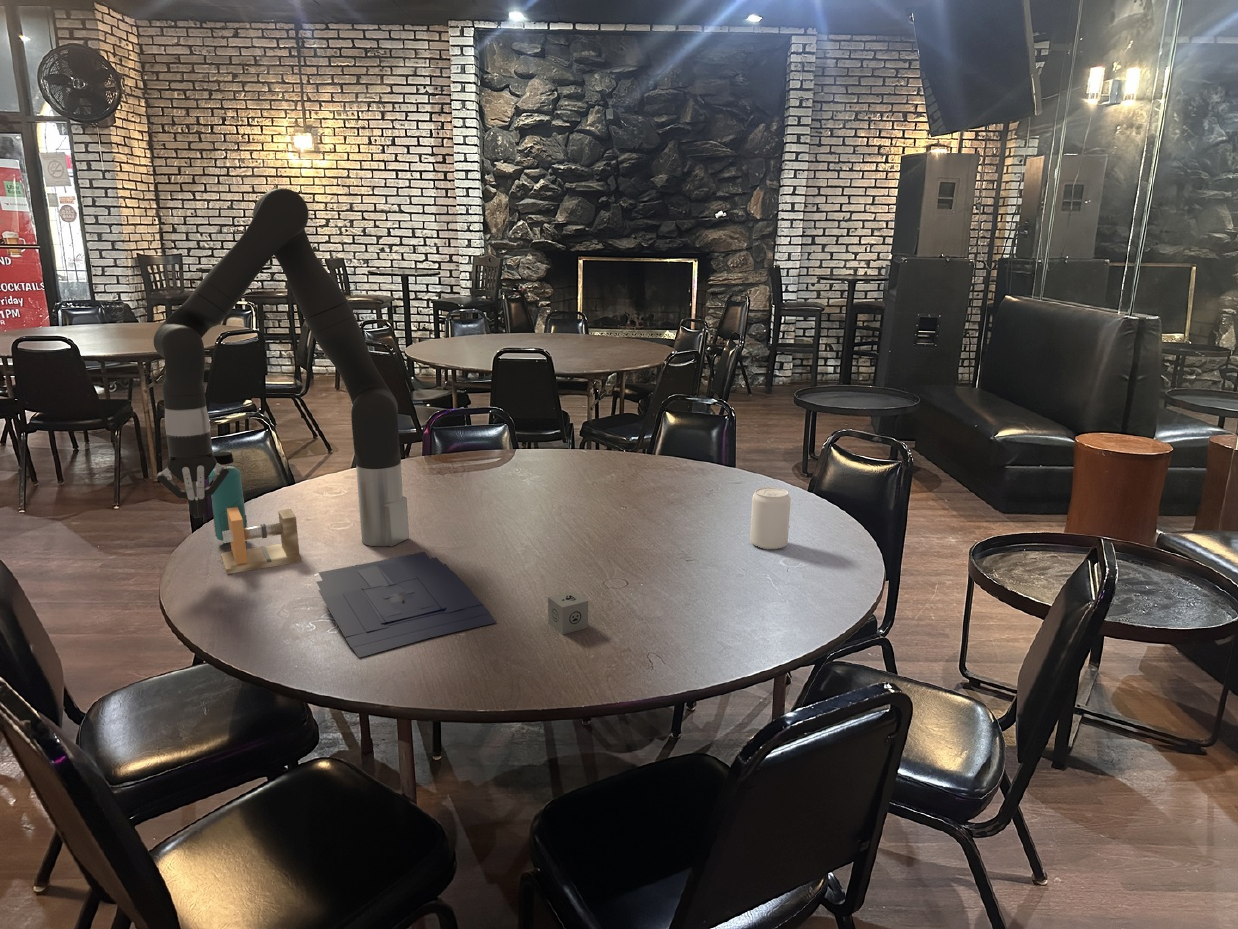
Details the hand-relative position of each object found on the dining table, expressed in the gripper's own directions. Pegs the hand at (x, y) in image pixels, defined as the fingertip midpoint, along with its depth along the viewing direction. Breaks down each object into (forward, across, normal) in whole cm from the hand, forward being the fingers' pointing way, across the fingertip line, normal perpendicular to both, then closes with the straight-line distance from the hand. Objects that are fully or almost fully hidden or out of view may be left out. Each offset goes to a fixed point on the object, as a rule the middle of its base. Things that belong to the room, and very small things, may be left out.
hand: (198, 516), depth 164 cm
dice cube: (+10, -53, +57) cm, 78 cm away
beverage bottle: (+11, -6, -13) cm, 18 cm away
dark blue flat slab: (+11, -29, +37) cm, 48 cm away
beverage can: (+10, -109, +42) cm, 117 cm away
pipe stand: (+11, -10, 0) cm, 14 cm away
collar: (+9, -7, 0) cm, 11 cm away
